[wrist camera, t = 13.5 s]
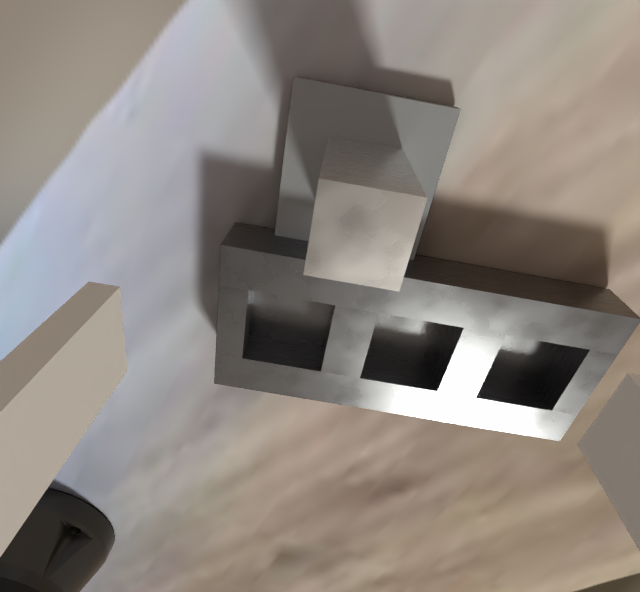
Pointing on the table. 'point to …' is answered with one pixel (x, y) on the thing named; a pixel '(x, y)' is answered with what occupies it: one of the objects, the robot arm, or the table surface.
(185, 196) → the table surface
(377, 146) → the steel block
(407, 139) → the slate pad
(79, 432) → the robot arm
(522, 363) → the grey slotted block
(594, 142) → the table surface
